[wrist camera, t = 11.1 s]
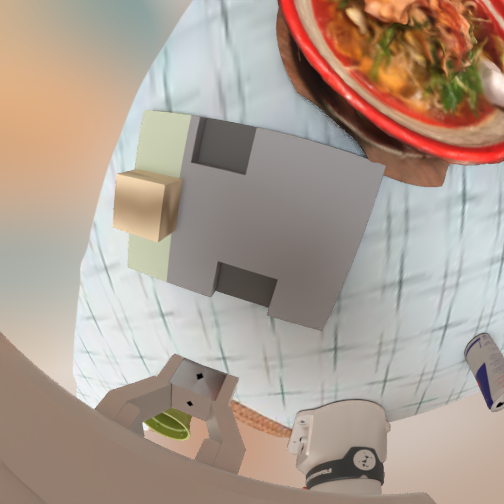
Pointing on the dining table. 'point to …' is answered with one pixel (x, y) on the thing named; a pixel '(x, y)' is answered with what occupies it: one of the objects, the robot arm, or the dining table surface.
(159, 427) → the plant pot
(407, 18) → the stew
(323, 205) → the board
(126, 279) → the dining table surface
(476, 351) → the energy drink
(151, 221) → the maple block
